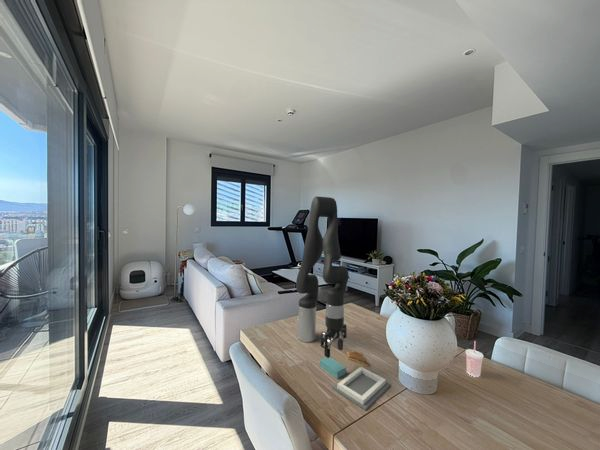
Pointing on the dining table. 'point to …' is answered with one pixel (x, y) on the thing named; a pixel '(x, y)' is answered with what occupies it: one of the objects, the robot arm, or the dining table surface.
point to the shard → (358, 357)
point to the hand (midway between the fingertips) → (333, 353)
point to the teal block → (333, 367)
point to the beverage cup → (474, 361)
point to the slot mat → (362, 387)
